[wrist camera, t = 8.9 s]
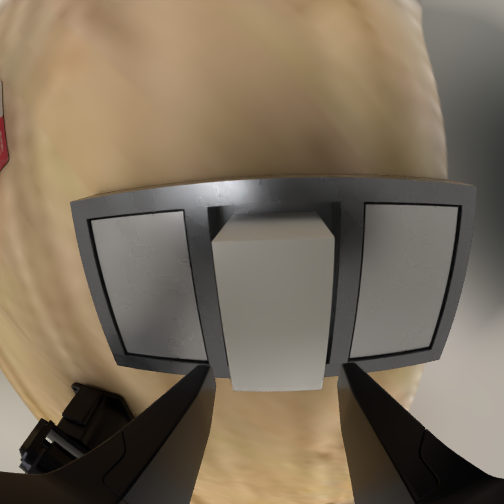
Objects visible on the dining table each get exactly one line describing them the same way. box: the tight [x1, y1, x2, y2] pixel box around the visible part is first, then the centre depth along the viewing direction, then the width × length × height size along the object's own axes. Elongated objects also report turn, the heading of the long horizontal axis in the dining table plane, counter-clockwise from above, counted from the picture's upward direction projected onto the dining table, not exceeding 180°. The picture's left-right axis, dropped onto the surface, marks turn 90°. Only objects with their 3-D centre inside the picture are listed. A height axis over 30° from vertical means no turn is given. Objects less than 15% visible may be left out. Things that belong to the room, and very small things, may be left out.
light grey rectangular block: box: [212, 211, 335, 391], centre depth 12 cm, size 7×4×4 cm, turn 4°
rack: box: [70, 174, 477, 378], centre depth 13 cm, size 11×20×3 cm, turn 94°
